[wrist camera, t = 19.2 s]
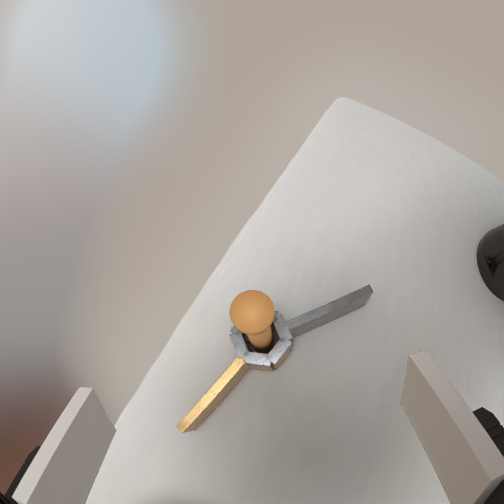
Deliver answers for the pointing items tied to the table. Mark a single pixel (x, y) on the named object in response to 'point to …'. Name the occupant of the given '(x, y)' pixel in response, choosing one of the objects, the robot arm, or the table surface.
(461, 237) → the table surface
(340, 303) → the hinge leaf
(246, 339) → the hinge leaf
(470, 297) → the table surface
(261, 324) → the hinge pin
